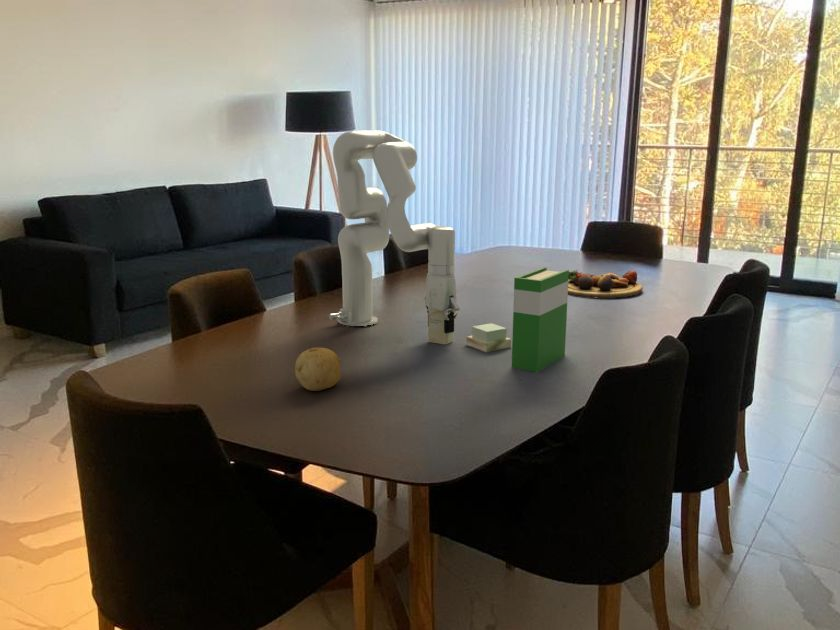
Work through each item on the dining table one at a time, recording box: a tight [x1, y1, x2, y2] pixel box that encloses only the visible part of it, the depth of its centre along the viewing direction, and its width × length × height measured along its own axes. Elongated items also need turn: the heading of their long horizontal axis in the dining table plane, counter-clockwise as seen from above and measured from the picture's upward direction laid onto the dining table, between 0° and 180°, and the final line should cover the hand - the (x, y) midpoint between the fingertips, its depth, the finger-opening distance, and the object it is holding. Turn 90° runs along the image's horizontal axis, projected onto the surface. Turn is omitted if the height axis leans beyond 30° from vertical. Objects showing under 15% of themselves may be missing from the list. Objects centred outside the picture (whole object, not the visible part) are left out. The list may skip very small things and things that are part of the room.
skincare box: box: [427, 302, 454, 345], centre depth 226 cm, size 6×4×12 cm
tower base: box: [466, 335, 512, 353], centre depth 223 cm, size 9×9×3 cm
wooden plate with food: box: [568, 269, 644, 299], centre depth 297 cm, size 32×32×8 cm
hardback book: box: [511, 266, 570, 373], centre depth 207 cm, size 18×7×24 cm, turn 147°
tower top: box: [471, 322, 508, 342], centre depth 223 cm, size 7×7×3 cm
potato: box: [294, 347, 342, 392], centre depth 187 cm, size 10×12×10 cm
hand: (440, 329), depth 227 cm, fingers closed on skincare box, 7 cm apart
